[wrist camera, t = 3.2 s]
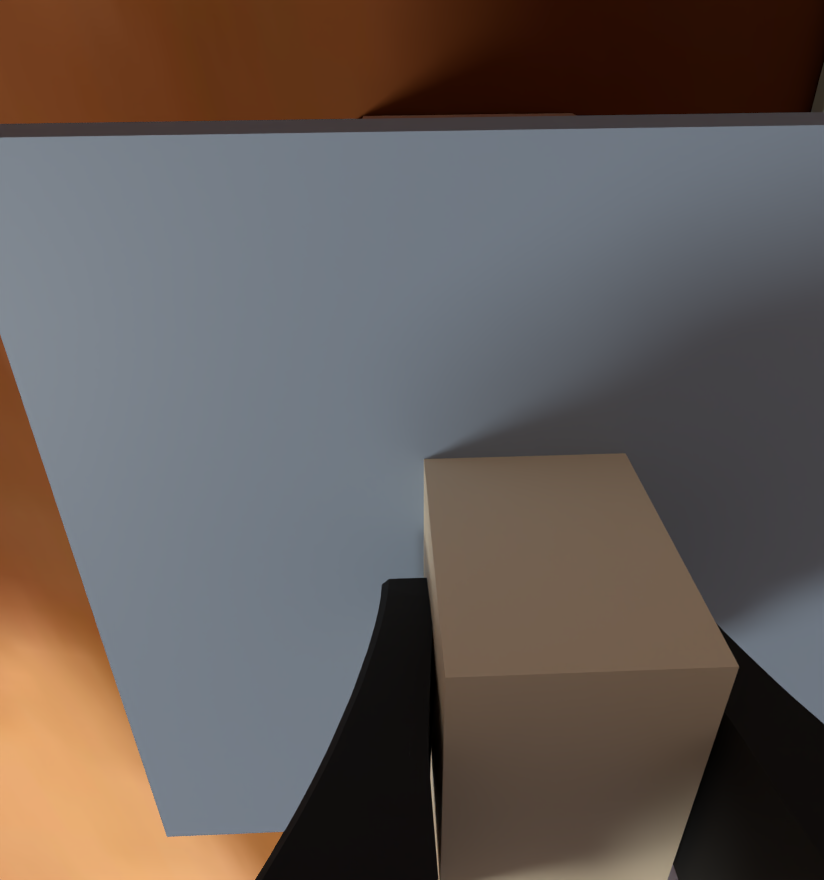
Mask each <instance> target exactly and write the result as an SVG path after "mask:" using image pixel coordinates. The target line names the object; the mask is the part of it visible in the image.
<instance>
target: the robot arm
mask: <svg viewBox="0 0 824 880" xmlns="http://www.w3.org/2000/svg"><path fill="white" fill-rule="evenodd" d="M716 624H717V623H716ZM717 626H718V628H719V630H720V632H721V633H722V635H723V637H724V639H725V641H726V643H727V645H728V647H729V648H730V650H731V652H732V654H733V656H734V658H735V660H736V662H737V663H738V665H739V669H738V672H737V675H736V678H735V681H734V684H733V687H732V690H731V693H730V695H729V698H728V701H727V704H726V707H725V710H724V713H723V716H722V719H721V722H720V725H719V728H718V731H717V734H716V737H715V740H714V743H713V746H712V749H711V752H710V755H709V758H708V761H707V764H706V767H705V770H704V773H703V776H702V779H701V782H700V785H699V788H698V791H697V793H696V796H695V799H694V802H693V805H692V808H691V811H690V814H689V817H688V820H687V823H686V826H685V829H684V832H683V835H682V838H681V841H680V844H679V847H678V850H677V853H676V856H675V859H674V862H673V865H672V868H671V871H670V874H669V877H668V880H824V723H822V722H821V721H820V720H819V719H818V718H817V717H815V716H814V715H813V714H812V713H811V712H810V711H809V710H807V709H806V708H805V707H804V706H803V705H802V704H800V703H799V702H798V701H797V700H796V699H795V698H794V697H793V696H791V695H790V694H789V693H788V692H787V691H786V690H785V689H784V688H783V687H782V686H780V685H779V684H778V683H777V682H776V681H775V680H774V679H773V678H772V677H771V676H770V675H769V674H768V673H767V672H766V671H765V670H764V669H763V668H761V667H760V666H759V665H758V664H757V663H756V662H755V661H754V660H753V659H752V658H751V657H750V656H749V655H748V654H747V653H746V652H745V651H744V650H743V649H742V648H741V647H740V646H739V645H738V644H737V643H736V642H735V641H733V640H732V639H731V638H730V637H729V636H728V635H727V634H726V633H725V632H724V631H723V629H722V628H721V627H720V626H719V625H718V624H717ZM431 712H432V617H431V608H430V599H429V591H428V583H427V578H398V579H388V580H387V581H386V582H384V583H383V584H382V587H381V598H380V604H379V609H378V614H377V618H376V622H375V626H374V630H373V633H372V636H371V640H370V643H369V647H368V650H367V653H366V656H365V658H364V661H363V664H362V667H361V670H360V672H359V675H358V678H357V681H356V684H355V686H354V689H353V692H352V694H351V697H350V699H349V702H348V704H347V706H346V708H345V711H344V713H343V715H342V718H341V720H340V722H339V725H338V727H337V729H336V731H335V734H334V736H333V738H332V741H331V743H330V745H329V747H328V749H327V751H326V754H325V756H324V758H323V760H322V762H321V764H320V766H319V768H318V770H317V772H316V774H315V776H314V778H313V780H312V782H311V784H310V786H309V787H308V789H307V791H306V793H305V795H304V797H303V799H302V801H301V802H300V804H299V806H298V808H297V810H296V812H295V814H294V815H293V817H292V819H291V820H290V822H289V824H288V826H287V827H286V829H285V831H284V833H283V834H282V836H281V838H280V839H279V841H278V843H277V845H276V846H275V848H274V850H273V851H272V853H271V855H270V857H269V858H268V860H267V861H266V863H265V865H264V866H263V868H262V870H261V871H260V873H259V874H258V876H257V878H256V879H255V880H439V878H438V866H437V854H436V842H435V830H434V818H433V805H432V792H431V780H430V772H431Z"/></svg>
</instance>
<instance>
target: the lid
mask: <svg viewBox="0 0 824 880" xmlns="http://www.w3.org/2000/svg"><path fill="white" fill-rule="evenodd" d="M0 335H1V338H2V341H3V344H4V347H5V350H6V353H7V356H8V359H9V362H10V365H11V368H12V371H13V374H14V377H15V380H16V383H17V386H18V389H19V392H20V395H21V398H22V401H23V404H24V407H25V410H26V413H27V416H28V419H29V422H30V425H31V428H32V431H33V434H34V437H35V440H36V443H37V446H38V449H39V452H40V455H41V458H42V461H43V464H44V467H45V470H46V473H47V476H48V479H49V482H50V485H51V488H52V491H53V494H54V497H55V500H56V503H57V506H58V509H59V512H60V515H61V519H62V522H63V525H64V528H65V531H66V534H67V537H68V540H69V543H70V546H71V549H72V552H73V555H74V558H75V561H76V564H77V567H78V570H79V573H80V576H81V579H82V582H83V585H84V588H85V591H86V594H87V597H88V600H89V603H90V606H91V609H92V612H93V615H94V618H95V621H96V624H97V627H98V630H99V633H100V636H101V639H102V642H103V645H104V648H105V651H106V654H107V657H108V660H109V663H110V666H111V669H112V672H113V675H114V678H115V681H116V684H117V687H118V690H119V693H120V696H121V699H122V702H123V705H124V708H125V711H126V714H127V717H128V720H129V723H130V726H131V729H132V732H133V735H134V738H135V741H136V744H137V747H138V750H139V753H140V756H141V759H142V762H143V765H144V768H145V771H146V774H147V777H148V780H149V783H150V786H151V790H152V793H153V796H154V799H155V802H156V805H157V808H158V811H159V814H160V817H161V820H162V823H163V826H164V829H165V832H166V835H167V837H171V836H194V835H217V834H240V833H263V832H284V831H285V829H286V827H287V826H288V824H289V822H290V820H291V819H292V817H293V815H294V814H295V812H296V810H297V808H298V806H299V804H300V802H301V801H302V799H303V797H304V795H305V793H306V791H307V789H308V787H309V786H310V784H311V782H312V780H313V778H314V776H315V774H316V772H317V770H318V768H319V766H320V764H321V762H322V760H323V758H324V756H325V754H326V751H327V749H328V747H329V745H330V743H331V741H332V738H333V736H334V734H335V731H336V729H337V727H338V725H339V722H340V720H341V718H342V715H343V713H344V711H345V708H346V706H347V704H348V702H349V699H350V697H351V694H352V692H353V689H354V686H355V684H356V681H357V678H358V675H359V672H360V670H361V667H362V664H363V661H364V658H365V656H366V653H367V650H368V647H369V643H370V640H371V636H372V633H373V630H374V626H375V622H376V618H377V614H378V609H379V604H380V598H381V587H382V584H383V583H384V582H386V581H387V580H388V579H398V578H427V583H428V591H429V599H430V608H431V617H432V712H431V772H430V780H431V792H432V805H433V818H434V830H435V842H436V854H437V866H438V878H439V880H668V877H669V874H670V871H671V868H672V865H673V862H674V859H675V856H676V853H677V850H678V847H679V844H680V841H681V838H682V835H683V832H684V829H685V826H686V823H687V820H688V817H689V814H690V811H691V808H692V805H693V802H694V799H695V796H696V793H697V791H698V788H699V785H700V782H701V779H702V776H703V773H704V770H705V767H706V764H707V761H708V758H709V755H710V752H711V749H712V746H713V743H714V740H715V737H716V734H717V731H718V728H719V725H720V722H721V719H722V716H723V713H724V710H725V707H726V704H727V701H728V698H729V695H730V693H731V690H732V687H733V684H734V681H735V678H736V675H737V672H738V669H739V665H738V663H737V662H736V660H735V658H734V656H733V654H732V652H731V650H730V648H729V647H728V645H727V643H726V641H725V639H724V637H723V635H722V633H721V632H720V630H719V628H718V626H717V624H718V625H719V626H720V627H721V628H722V629H723V631H724V632H725V633H726V634H727V635H728V636H729V637H730V638H731V639H732V640H733V641H735V642H736V643H737V644H738V645H739V646H740V647H741V648H742V649H743V650H744V651H745V652H746V653H747V654H748V655H749V656H750V657H751V658H752V659H753V660H754V661H755V662H756V663H757V664H758V665H759V666H760V667H761V668H763V669H764V670H765V671H766V672H767V673H768V674H769V675H770V676H771V677H772V678H773V679H774V680H775V681H776V682H777V683H778V684H779V685H780V686H782V687H783V688H784V689H785V690H786V691H787V692H788V693H789V694H790V695H791V696H793V697H794V698H795V699H796V700H797V701H798V702H799V703H800V704H802V705H803V706H804V707H805V708H806V709H807V710H809V711H810V712H811V713H812V714H813V715H814V716H815V717H817V718H818V719H819V720H820V721H821V722H822V723H824V112H796V113H727V114H658V115H590V116H521V117H453V118H384V119H315V120H247V121H178V122H110V123H41V124H0ZM716 623H717V624H716Z"/></svg>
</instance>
